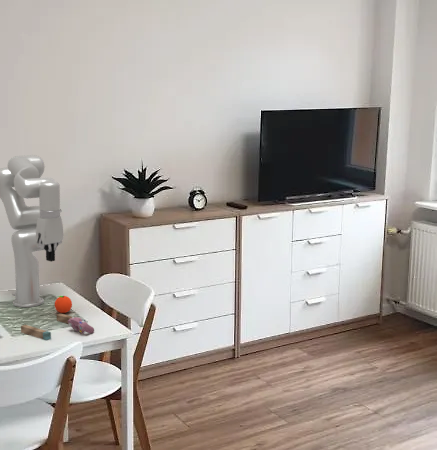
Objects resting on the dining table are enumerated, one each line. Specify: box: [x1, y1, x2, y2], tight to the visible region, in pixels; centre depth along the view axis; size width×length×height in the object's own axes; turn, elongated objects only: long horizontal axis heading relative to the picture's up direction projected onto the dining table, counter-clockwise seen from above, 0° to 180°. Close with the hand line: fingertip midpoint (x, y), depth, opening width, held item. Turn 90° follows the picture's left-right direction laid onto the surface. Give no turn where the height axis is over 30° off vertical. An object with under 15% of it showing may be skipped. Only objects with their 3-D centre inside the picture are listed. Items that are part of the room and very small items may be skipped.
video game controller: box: [67, 316, 95, 335], centre depth 254 cm, size 10×5×7 cm, turn 49°
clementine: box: [53, 295, 73, 314], centre depth 276 cm, size 8×7×7 cm
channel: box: [20, 312, 87, 341], centre depth 257 cm, size 14×19×2 cm
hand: (50, 260), depth 263 cm, fingers closed
